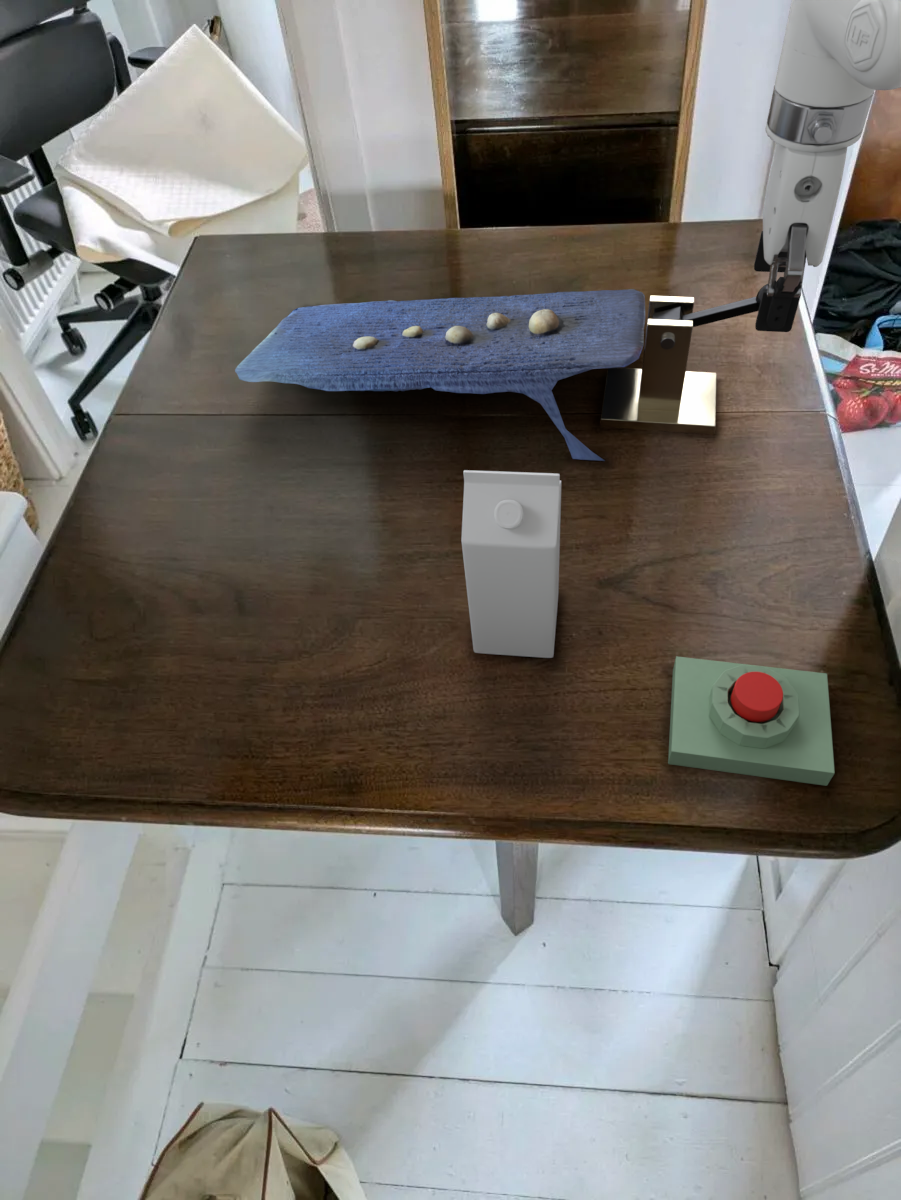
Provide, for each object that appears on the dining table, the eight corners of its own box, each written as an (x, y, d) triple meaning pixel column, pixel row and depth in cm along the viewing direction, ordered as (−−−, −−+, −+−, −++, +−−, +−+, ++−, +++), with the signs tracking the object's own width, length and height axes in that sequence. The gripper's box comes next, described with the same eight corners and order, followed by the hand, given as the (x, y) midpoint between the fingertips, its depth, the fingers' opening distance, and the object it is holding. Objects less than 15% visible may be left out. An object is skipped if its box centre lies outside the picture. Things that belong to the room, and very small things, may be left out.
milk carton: (482, 591, 80) (469, 438, 65) (558, 596, 79) (562, 441, 64) (473, 654, 76) (457, 505, 61) (553, 659, 75) (556, 510, 60)
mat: (241, 467, 97) (214, 370, 90) (312, 375, 119) (294, 291, 112) (645, 460, 88) (648, 351, 81) (642, 362, 110) (644, 270, 103)
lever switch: (792, 299, 83) (787, 271, 81) (793, 319, 81) (789, 290, 79) (659, 332, 89) (652, 307, 87) (658, 351, 87) (650, 325, 85)
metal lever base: (714, 381, 96) (733, 287, 87) (713, 434, 91) (733, 340, 81) (607, 375, 98) (614, 282, 89) (600, 427, 93) (606, 334, 83)
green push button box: (820, 687, 71) (833, 661, 68) (827, 786, 66) (841, 762, 63) (672, 670, 73) (678, 643, 70) (668, 764, 68) (674, 740, 65)
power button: (777, 685, 67) (782, 674, 66) (779, 725, 65) (784, 714, 64) (730, 680, 68) (734, 668, 67) (730, 719, 66) (734, 708, 65)
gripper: (877, 165, 63) (817, 357, 76) (858, 65, 73) (807, 251, 87) (771, 163, 64) (730, 352, 78) (766, 66, 74) (731, 248, 88)
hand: (771, 299), depth 82 cm, fingers open, 9 cm apart
